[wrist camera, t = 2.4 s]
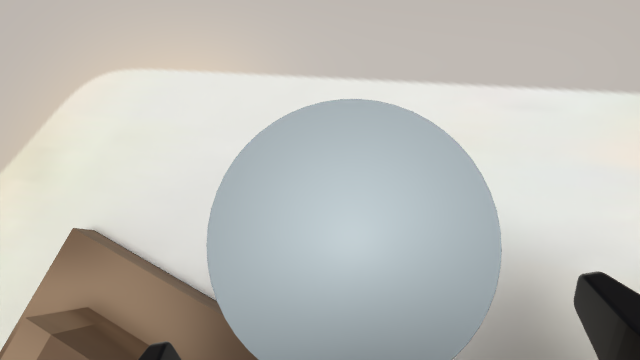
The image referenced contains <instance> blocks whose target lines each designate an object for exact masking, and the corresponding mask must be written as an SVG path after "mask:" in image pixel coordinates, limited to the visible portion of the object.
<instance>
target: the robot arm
mask: <svg viewBox="0 0 640 360" xmlns="http://www.w3.org/2000/svg"><path fill="white" fill-rule="evenodd" d="M574 306H575V309H576V312H577V314H578V316H579V318H580V320H581V322H582V325H583V327H584V329H585V331H586V333H587V335H588V337H589V340H590V342H591V344H592V346H593V348H594V350H595V352H596V355H597V357H598V359H599V360H640V294H638V293H637V292H635V291H633V290H632V289H630V288H628V287H627V286H625V285H623V284H622V283H620V282H618V281H617V280H615V279H613V278H612V277H610V276H608V275H607V274H605V273H602V272H592V273H585V274H581V275H580V276H579V278H578V281H577V286H576V291H575V296H574ZM138 360H182V359H181V358H180V356H179V355H178V353H177V352H176V350H175V348H174V347H173V345H172V344H171V343H170V342H168V341H164V342H158V343H153V344H151V345H150V346H148V347H147V349H146V350H145V351H144V352H143V354H142V355H141V356H140V357H139V359H138Z"/></svg>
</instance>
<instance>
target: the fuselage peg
mask: <svg viewBox="0 0 640 360" xmlns="http://www.w3.org/2000/svg"><path fill="white" fill-rule="evenodd" d="M501 252H502V249H501V232H500V226H499V220H498V215H497V210H496V207H495V204H494V201H493V198H492V195H491V192H490V190H489V188H488V186H487V184H486V182H485V180H484V178H483V176H482V174H481V172H480V171H479V169H478V168H477V166H476V165H475V163H474V162H473V160H472V159H471V157H470V156H469V155H468V154H467V153H466V152H465V151H464V149H463V148H462V147H461V146H460V145H459V144H458V143H457V142H456V141H455V140H454V139H453V138H452V137H451V136H450V135H448V134H447V133H446V132H445V131H444V130H442V129H441V128H439V127H438V126H437V125H435V124H434V123H432V122H431V121H429V120H428V119H426V118H424V117H422V116H420V115H418V114H416V113H414V112H412V111H409V110H407V109H404V108H401V107H399V106H396V105H392V104H388V103H384V102H379V101H373V100H363V99H340V100H333V101H326V102H321V103H317V104H314V105H310V106H307V107H304V108H301V109H299V110H297V111H294V112H292V113H289V114H287V115H286V116H284V117H282V118H280V119H279V120H277V121H275V122H273V123H272V124H271V125H269V126H268V127H267V128H265V129H264V130H262V131H261V132H260V133H259V134H258V135H256V136H255V137H254V138H253V139H252V140H251V141H250V142H249V143H248V144H247V145H246V146H245V147H244V149H243V150H242V151H241V152H240V153H239V155H238V156H237V157H236V158H235V160H234V161H233V163H232V164H231V166H230V167H229V169H228V171H227V172H226V174H225V176H224V178H223V180H222V182H221V184H220V186H219V188H218V190H217V193H216V196H215V199H214V202H213V205H212V208H211V213H210V218H209V224H208V232H207V261H208V269H209V274H210V279H211V284H212V287H213V290H214V293H215V296H216V300H217V302H218V304H219V306H220V309H221V311H222V313H223V315H224V317H225V319H226V321H227V322H228V324H229V325H230V327H231V329H232V330H233V332H234V333H235V335H236V336H237V337H238V338H239V340H240V341H241V342H242V343H243V344H244V346H245V347H246V348H247V349H248V350H249V351H250V352H251V353H252V354H253V355H254V356H255V357H256V358H257V359H258V360H452V359H453V358H454V357H455V356H456V355H457V354H458V353H459V352H460V351H461V350H462V349H463V348H464V347H465V346H466V345H467V344H468V342H469V341H470V339H471V338H472V337H473V335H474V334H475V333H476V331H477V330H478V329H479V327H480V325H481V323H482V321H483V319H484V317H485V316H486V314H487V312H488V310H489V307H490V305H491V302H492V299H493V297H494V294H495V291H496V287H497V282H498V278H499V273H500V264H501Z"/></svg>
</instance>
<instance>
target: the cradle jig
mask: <svg viewBox="0 0 640 360" xmlns="http://www.w3.org/2000/svg"><path fill="white" fill-rule="evenodd" d="M164 341H168V342H170V343H171V344H172V345H173V347H174V348H175V350H176V352H177V353H178V355H179V356H180V358H181V359H182V360H258V359H257V358H256V357H255V356H254V355H253V354H252V353H251V352H250V351H249V350H248V349H247V348H246V347H245V346H244V344H243V343H242V342H241V341H240V340H239V338H238V337H237V336H236V335H235V333H234V332H233V330H232V329H231V327H230V325H229V324H228V322H227V321H226V319H225V317H224V315H223V313H222V311H221V309H220V306H219V304H218V302H217V301H215V300H213V299H211V298H210V297H208V296H206V295H205V294H203V293H201V292H199V291H198V290H196V289H194V288H192V287H191V286H189V285H187V284H186V283H184V282H182V281H180V280H179V279H177V278H175V277H173V276H172V275H170V274H168V273H167V272H165V271H163V270H161V269H160V268H158V267H156V266H154V265H153V264H151V263H149V262H148V261H146V260H144V259H142V258H141V257H139V256H137V255H135V254H134V253H132V252H130V251H129V250H127V249H125V248H123V247H122V246H120V245H118V244H117V243H115V242H113V241H111V240H110V239H108V238H106V237H104V236H103V235H101V234H99V233H98V232H96V231H94V230H86V229H77V228H73V229H72V231H71V232H70V234H69V236H68V237H67V239H66V241H65V243H64V244H63V246H62V248H61V249H60V251H59V253H58V255H57V256H56V258H55V260H54V261H53V263H52V265H51V266H50V268H49V270H48V272H47V273H46V275H45V277H44V278H43V280H42V282H41V283H40V285H39V287H38V289H37V290H36V292H35V294H34V295H33V297H32V299H31V301H30V302H29V304H28V306H27V307H26V309H25V311H24V312H23V314H22V316H21V318H20V319H19V321H18V323H17V324H16V326H15V328H14V329H13V331H12V333H11V335H10V336H9V338H8V340H7V341H6V343H5V345H4V347H3V348H2V350H1V352H0V360H138V359H139V357H140V356H141V355H142V354H143V352H144V351H145V350H146V349H147V347H148V346H150V345H151V344H153V343H158V342H164Z"/></svg>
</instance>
